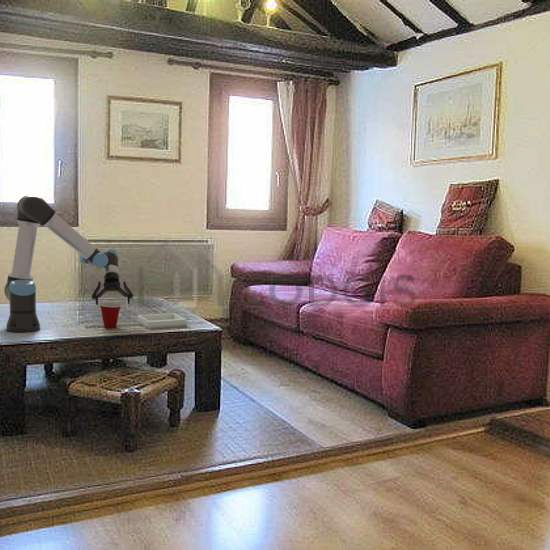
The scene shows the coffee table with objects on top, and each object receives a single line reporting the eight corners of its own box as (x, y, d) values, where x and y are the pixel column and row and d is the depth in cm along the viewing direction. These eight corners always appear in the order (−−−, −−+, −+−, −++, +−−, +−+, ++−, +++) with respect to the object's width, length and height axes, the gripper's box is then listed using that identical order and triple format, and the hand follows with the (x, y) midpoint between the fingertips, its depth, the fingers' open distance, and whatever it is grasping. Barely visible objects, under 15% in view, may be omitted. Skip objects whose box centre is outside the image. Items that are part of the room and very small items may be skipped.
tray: (147, 329, 319) (147, 322, 319) (137, 321, 337) (137, 315, 337) (186, 326, 328) (186, 319, 328) (174, 319, 346) (174, 313, 346)
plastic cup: (118, 329, 316) (118, 305, 314) (96, 329, 316) (96, 305, 315) (124, 325, 326) (124, 302, 325) (103, 324, 327) (103, 301, 325)
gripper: (135, 279, 342) (138, 312, 330) (86, 280, 335) (87, 314, 323) (136, 271, 337) (139, 304, 324) (86, 271, 329) (87, 305, 317)
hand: (113, 309), depth 324 cm, fingers open, 13 cm apart
